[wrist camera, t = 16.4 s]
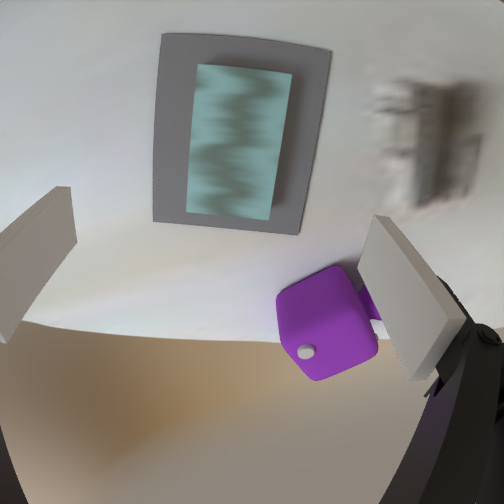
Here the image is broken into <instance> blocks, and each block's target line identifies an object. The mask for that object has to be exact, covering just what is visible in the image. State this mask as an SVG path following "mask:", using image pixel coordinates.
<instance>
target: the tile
mask: <svg viewBox="0 0 504 504" xmlns="http://www.w3.org/2000/svg"><path fill="white" fill-rule="evenodd" d="M291 78H292V74H286V73H279V72H272V71H265V70H257V69H249V68H240V67H229V66H217V65H202V64H198V67H197V76H196V85H195V94H194V105H193V115H192V127H191V139H190V153H189V168H188V185H187V204H186V212H191V213H202V214H212V215H222V216H232V217H242V218H251V219H260V220H269V216H270V210H271V204H272V198H273V191H274V185H275V179H276V173H277V167H278V161H279V154H280V148H281V142H282V136H283V129H284V123H285V117H286V110H287V104H288V98H289V91H290V85H291Z"/></svg>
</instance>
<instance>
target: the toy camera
mask: <svg viewBox="0 0 504 504" xmlns="http://www.w3.org/2000/svg"><path fill="white" fill-rule="evenodd" d="M276 310H277V319H278V327H279V335H280V341H281V344H282V346H283V348H284V349H285V351H286V352H287V353H288V354H289V356H290V357H291V358H292V359H293V360H294V361H295V363H296V364H297V365H298V366H299V367H300V368H301V369H302V371H303V372H304V373H305V374H306V375H307V376H308V377H309V378H310V379H312V380H314V381H318V380H322V379H326V378H328V377H331V376H333V375H336V374H338V373H340V372H343V371H345V370H347V369H350V368H352V367H354V366H356V365H359V364H361V363H363V362H365V361H367V360H369V359H371V358H372V357H374V356H375V355H376V354H377V352H378V342H377V341H378V336H377V334H375V333H374V330H373V328H372V325H371V323H370V319H376V320H382V319H381V317H380V314H379V312H378V310H377V308H376V306H375V304H374V302H373V300H372V297H371V295H370V293H369V291H368V289H367V287H366V285H365V283H364V285H363V287H362V289H361V290H360V292H359V293H357V292H356V290H355V288H354V286H353V284H352V282H351V281H350V279H349V277H348V275H347V274H346V272H345V271H344V270H343V269H342V268H341V267H339V266H332V267H329V268H327V269H325V270H323V271H321V272H319V273H317V274H315V275H313V276H311V277H309V278H307V279H305V280H303V281H301V282H299V283H297V284H295V285H293V286H291V287H289V288H287V289H285V290H283V291H282V292H280V293H279V294H278V295H277V298H276Z"/></svg>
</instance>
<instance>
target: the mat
mask: <svg viewBox="0 0 504 504" xmlns="http://www.w3.org/2000/svg"><path fill="white" fill-rule="evenodd" d="M330 57H331V51H327V50H322V49H317V48H312V47H307V46H301V45H296V44H290V43H284V42H277V41H270V40H262V39H254V38H244V37H233V36H220V35H200V34H162V38H161V47H160V56H159V67H158V78H157V90H156V105H155V122H154V146H153V222H163V223H175V224H186V225H197V226H208V227H218V228H229V229H239V230H249V231H259V232H269V233H279V234H289V235H298V232H299V228H300V223H301V218H302V213H303V208H304V203H305V198H306V193H307V188H308V183H309V178H310V173H311V167H312V162H313V157H314V151H315V146H316V140H317V135H318V129H319V124H320V118H321V112H322V106H323V100H324V94H325V88H326V82H327V76H328V70H329V63H330ZM198 64H202V65H217V66H229V67H240V68H249V69H257V70H265V71H272V72H279V73H286V74H292V78H291V85H290V91H289V98H288V104H287V110H286V117H285V123H284V129H283V136H282V142H281V148H280V154H279V161H278V167H277V173H276V179H275V185H274V191H273V198H272V204H271V210H270V216H269V220H260V219H251V218H242V217H232V216H222V215H212V214H202V213H191V212H186V204H187V185H188V168H189V153H190V139H191V127H192V115H193V105H194V94H195V85H196V76H197V67H198Z"/></svg>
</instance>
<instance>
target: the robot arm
mask: <svg viewBox="0 0 504 504" xmlns="http://www.w3.org/2000/svg"><path fill="white" fill-rule="evenodd" d="M76 243H77V237H76V230H75V223H74V216H73V208H72V199H71V189H70V187H59V186H56V187H55V188H54V189H52V190H51V191H50V192H48V193H47V194H46V195H45V196H43V197H42V198H41V199H40V200H38V201H37V202H36V203H35V204H33V205H32V206H31V207H30V208H29V209H27V210H26V211H25V212H24V213H23V214H22V215H20V216H19V217H18V218H17V219H16V220H15V221H14V222H12V223H11V224H10V225H9V226H8V227H7V228H6V229H5V230H3V231H2V232H1V233H0V342H2V343H6V344H7V342H8V340H9V339H10V337H11V335H12V334H13V332H14V331H15V329H16V327H17V326H18V324H19V323H20V321H21V320H22V318H23V317H24V315H25V313H26V312H27V310H28V309H29V307H30V306H31V304H32V303H33V302H34V300H35V299H36V297H37V296H38V294H39V293H40V291H41V290H42V289H43V287H44V286H45V284H46V283H47V282H48V280H49V279H50V277H51V276H52V275H53V273H54V272H55V271H56V269H57V268H58V267H59V265H60V264H61V263H62V261H63V260H64V259H65V257H66V256H67V255H68V254H69V252H70V251H71V250H72V248H73V247H74V246H75V245H76ZM357 269H358V271H359V273H360V275H361V277H362V279H363V281H364V283H365V285H366V287H367V289H368V291H369V293H370V295H371V297H372V300H373V302H374V304H375V306H376V308H377V310H378V312H379V314H380V317H381V319H382V321H383V323H384V325H385V327H386V330H387V332H388V334H389V336H390V339H391V341H392V343H393V345H394V347H395V350H396V352H397V355H398V356H399V359H400V362H401V364H402V366H403V369H404V371H405V374H406V376H407V378H408V381H418V380H426V379H427V378H428V377H429V376H430V374H431V373H432V371H433V370H434V369H435V367H436V369H437V371H438V373H439V377H438V378H437V379H436V380H435V382H434V383H433V384H432V386H431V387H430V389H429V390H428V391H427V392H426V394H425V395H424V397H427V396H428V395H429V394H430V396H429V398H428V401H427V404H426V406H425V409H424V411H423V414H422V416H421V419H420V421H419V424H418V426H417V429H416V431H415V433H414V436H413V438H412V440H411V442H410V444H409V447H408V449H407V451H406V453H405V455H404V457H403V459H402V461H401V463H400V465H399V468H398V469H397V471H396V474H395V475H394V477H393V479H392V481H391V483H390V485H389V486H388V488H387V490H386V492H385V494H384V495H383V497H382V499H381V501H380V502H379V504H475V503H476V504H504V343H502V341H501V339H500V337H499V335H498V334H497V333H496V332H495V331H494V330H493V329H492V328H490V327H489V326H487V325H484V324H478V323H477V324H475V322H474V321H473V319H472V318H471V316H470V315H469V314H468V312H467V311H466V309H465V308H464V306H463V305H462V304H461V302H459V301H458V300H459V299H458V298H457V297H456V295H455V294H453V291H452V290H451V289H450V287H449V286H448V284H447V283H445V282H444V281H443V280H442V279H441V278H439V277H438V276H436V275H435V273H434V272H433V271H432V269H431V268H430V267H429V265H428V264H427V263H426V262H425V260H424V259H423V258H422V256H421V255H420V254H419V253H418V251H417V250H416V249H415V248H414V246H413V245H412V244H411V243H410V242H409V240H408V239H407V238H406V237H405V235H404V234H403V233H402V232H401V231H400V229H399V228H398V227H397V226H396V225H395V224H394V222H393V221H392V220H391V219H390V218H389V217H385V216H379V215H374V216H373V219H372V223H371V226H370V229H369V233H368V236H367V239H366V242H365V245H364V249H363V252H362V255H361V258H360V261H359V264H358V267H357ZM0 504H28V502H27V499H26V497H25V495H24V493H23V490H22V488H21V485H20V483H19V481H18V478H17V475H16V473H15V470H14V467H13V464H12V461H11V459H10V456H9V453H8V450H7V447H6V443H5V440H4V437H3V433H2V430H1V426H0Z"/></svg>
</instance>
